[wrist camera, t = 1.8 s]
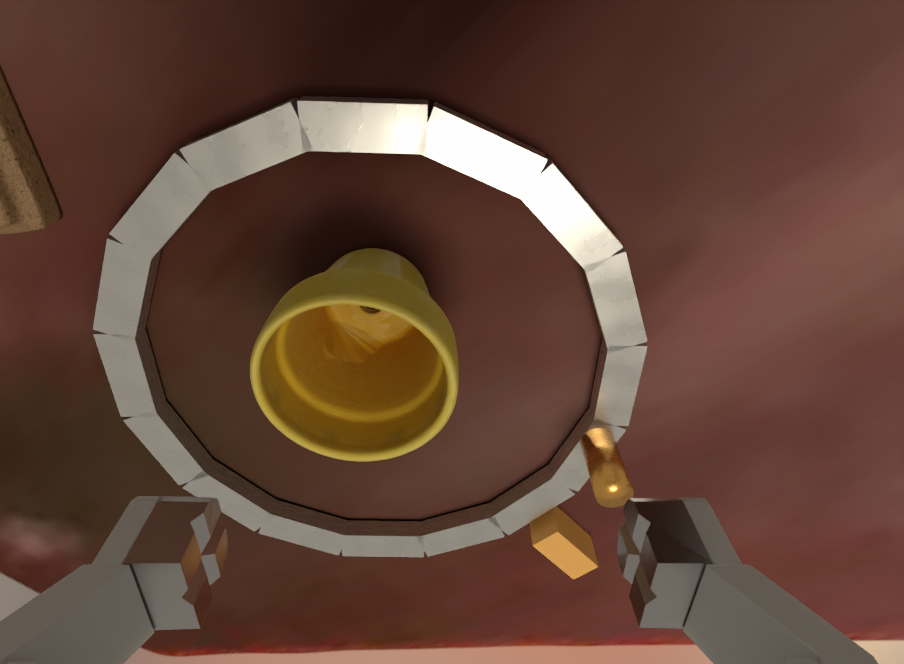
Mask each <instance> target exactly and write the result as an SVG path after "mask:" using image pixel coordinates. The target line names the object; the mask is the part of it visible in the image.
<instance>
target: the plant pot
mask: <svg viewBox="0 0 904 664" xmlns="http://www.w3.org/2000/svg"><path fill="white" fill-rule="evenodd" d="M367 307H370V308H375V309H370V308H367ZM250 379H251V384H252V388H253V392H254V395H255V397H256V400H257V402H258V404H259V406H260V408H261V409H262V411H263V413H264V414H265V415H266V417H267V418H268V419H269V420H270V422H271V423H272V424H273V425H274V426H275V427H276V428H277V429H278V430H279V431H281V432H282V433H283V434H284V435H285V436H287V437H288V438H289V439H291V440H292V441H294V442H296V443H297V444H299V445H301V446H303V447H305V448H307V449H309V450H311V451H314V452H316V453H319V454H321V455H325V456H328V457H332V458H336V459H341V460H348V461H377V460H384V459H389V458H393V457H397V456H401V455H403V454H406V453H408V452H410V451H413V450H415V449H417V448H419V447H420V446H422V445H424V444H425V443H426V442H428V441H429V440H431V439H432V438H433V437H434V436H435V435H436V434H437V433H438V432H439V431H440V430H441V429H442V428H443V426H444V425H445V424H446V422H447V421H448V419H449V417H450V415H451V414H452V411H453V409H454V406H455V403H456V399H457V394H458V355H457V347H456V341H455V336H454V333H453V330H452V327H451V325H450V323H449V321H448V319H447V317H446V315H445V314H444V312H443V311H442V309H441V308H440V307H439V306H438V305H437V303H436V302H435V301H434V300H433V299H432V298H431V297H430V295H429V292H428V289H427V286H426V284H425V281H424V279H423V277H422V275H421V274H420V272H419V271H418V270H417V268H416V267H415V266H414V265H413V264H412V263H411V262H409V261H408V260H407V259H406V258H404V257H402V256H400V255H399V254H396V253H394V252H391V251H388V250H385V249H379V248H366V249H360V250H356V251H353V252H350V253H348V254H346V255H344V256H342V257H341V258H340V259H338V260H337V261H336V262H335V263H334V264H333V265H332V266H331V267H329V268H328V269H327V270H326V271H325V272H323V273H319V274H316V275H314V276H312V277H309V278H307V279H305V280H303V281H302V282H300V283H298V284H297V285H295V286H294V287H293V288H291V289H290V290H289V291H288V292H287V293H286V294H285V295H284V296H283V297H282V298H281V300H280V301H279V302H278V304H277V305H276V306H275V308H274V309H273V311H272V312H271V314H270V316H269V317H268V319H267V321H266V322H265V324H264V326H263V328H262V330H261V331H260V333H259V335H258V337H257V340H256V342H255V345H254V348H253V351H252V355H251V360H250Z"/></svg>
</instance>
